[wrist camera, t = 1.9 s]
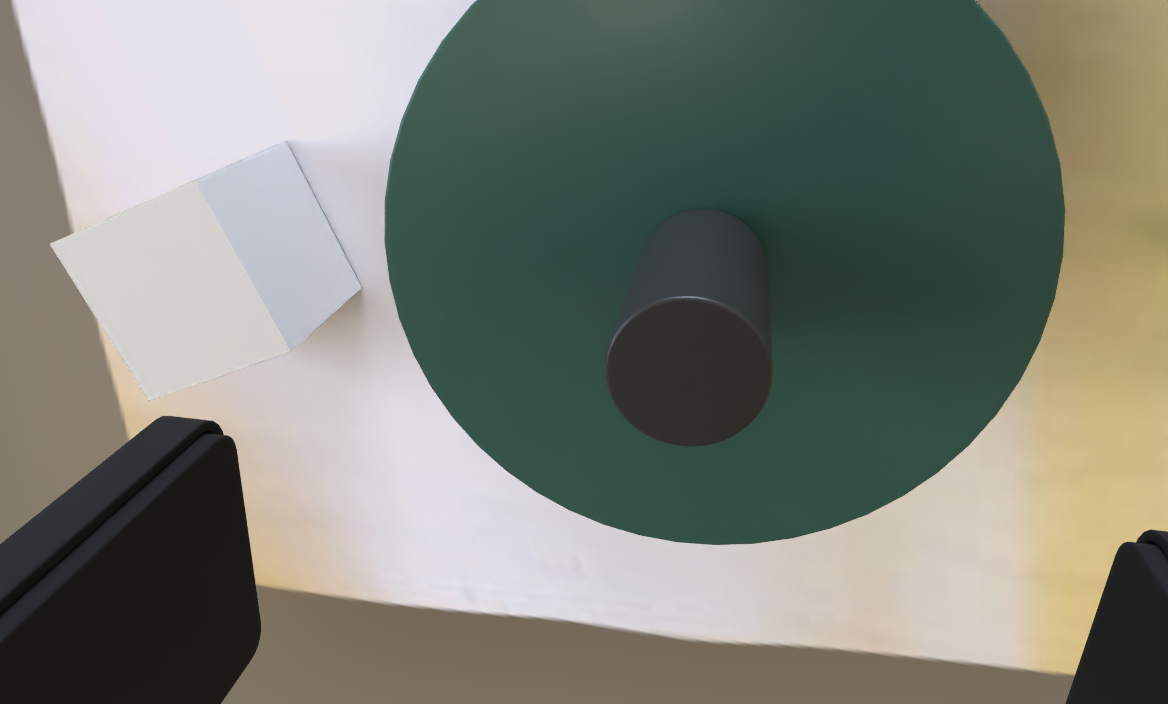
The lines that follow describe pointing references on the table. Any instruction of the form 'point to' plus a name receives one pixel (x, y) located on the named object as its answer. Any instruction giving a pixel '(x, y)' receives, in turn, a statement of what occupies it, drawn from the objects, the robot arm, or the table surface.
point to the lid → (724, 250)
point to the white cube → (212, 273)
